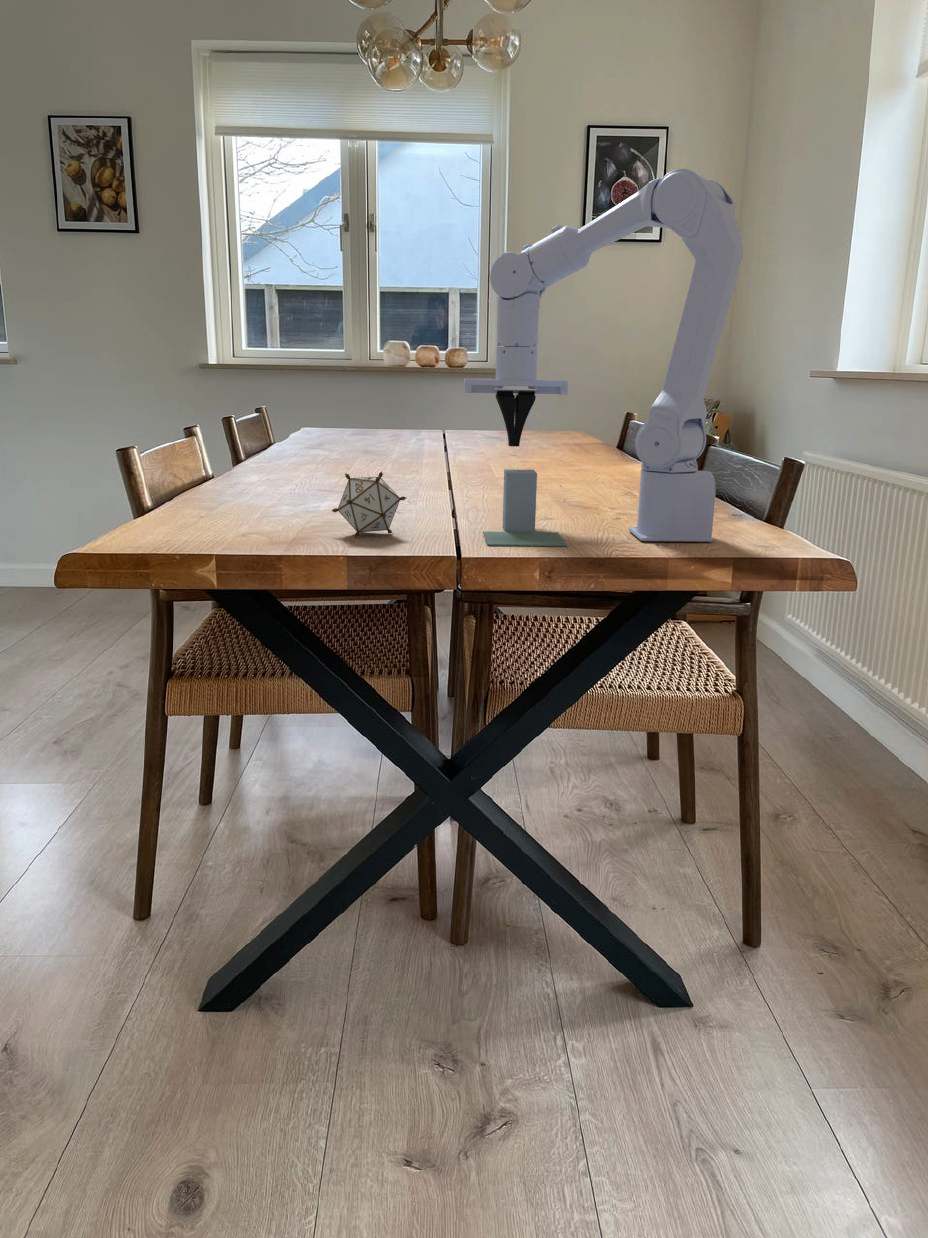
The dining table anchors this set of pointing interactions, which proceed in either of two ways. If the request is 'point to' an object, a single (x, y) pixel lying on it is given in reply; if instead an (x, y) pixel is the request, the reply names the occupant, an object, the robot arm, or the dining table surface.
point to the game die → (368, 504)
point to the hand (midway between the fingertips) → (513, 445)
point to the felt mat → (524, 539)
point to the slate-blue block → (519, 500)
